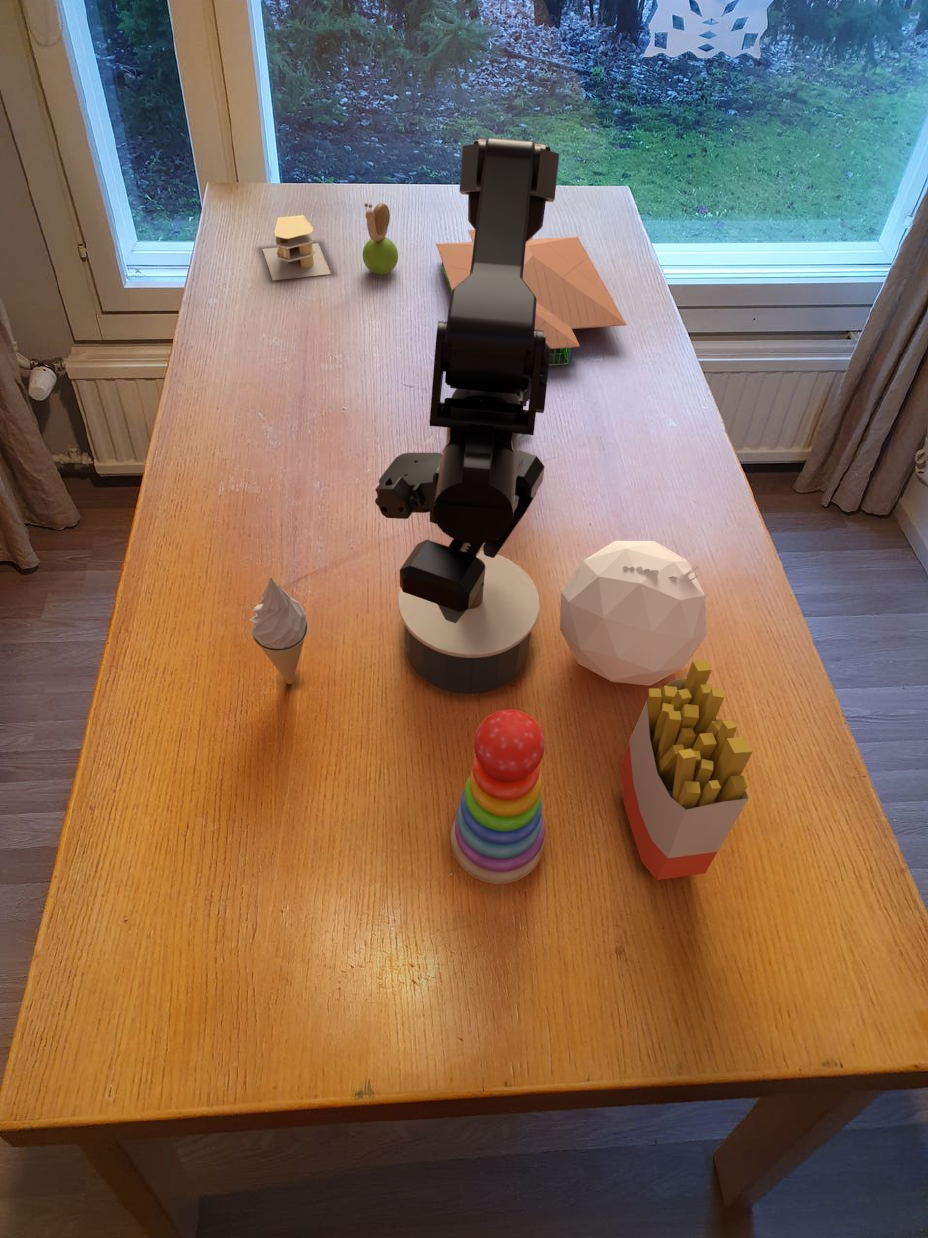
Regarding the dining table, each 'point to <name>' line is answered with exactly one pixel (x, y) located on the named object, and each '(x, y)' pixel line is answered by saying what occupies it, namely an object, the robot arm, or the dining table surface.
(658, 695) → the french fries container
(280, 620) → the ice cream cone
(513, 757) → the stacking toy
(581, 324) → the house
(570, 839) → the dining table surface
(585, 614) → the geodesic sphere
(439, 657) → the container
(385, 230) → the snail figurine
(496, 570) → the round peg stand
